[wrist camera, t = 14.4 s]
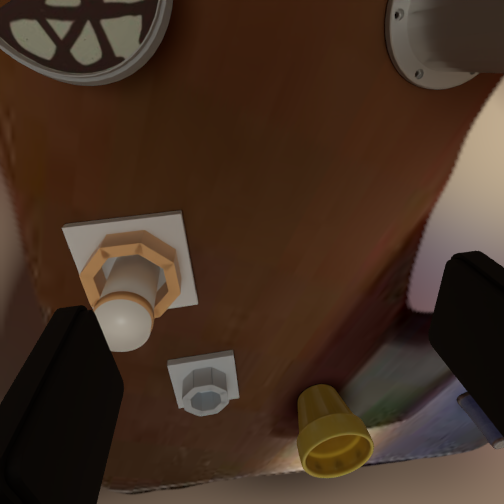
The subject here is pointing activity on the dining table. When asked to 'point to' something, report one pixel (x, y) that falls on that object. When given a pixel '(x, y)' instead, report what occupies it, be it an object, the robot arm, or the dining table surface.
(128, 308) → the beige peg
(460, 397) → the flask
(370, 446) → the plant pot
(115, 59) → the food container
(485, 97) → the dining table surface
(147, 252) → the wide socket
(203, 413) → the narrow socket
